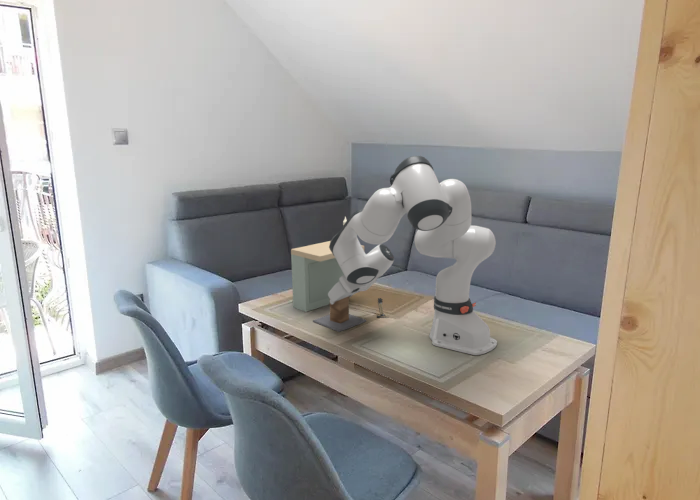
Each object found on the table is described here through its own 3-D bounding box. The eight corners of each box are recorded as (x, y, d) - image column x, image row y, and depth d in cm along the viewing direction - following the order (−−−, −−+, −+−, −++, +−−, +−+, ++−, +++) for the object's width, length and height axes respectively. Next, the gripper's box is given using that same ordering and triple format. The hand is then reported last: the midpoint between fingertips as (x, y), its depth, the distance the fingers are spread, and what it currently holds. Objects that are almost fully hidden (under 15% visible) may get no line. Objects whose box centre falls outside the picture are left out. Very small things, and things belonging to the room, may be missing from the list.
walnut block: (348, 319, 185) (348, 291, 183) (340, 323, 182) (340, 294, 179) (338, 316, 188) (338, 288, 186) (330, 320, 185) (329, 292, 182)
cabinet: (364, 302, 206) (364, 245, 200) (321, 317, 189) (319, 256, 184) (336, 293, 217) (335, 239, 212) (293, 307, 201) (291, 249, 195)
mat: (366, 321, 185) (366, 319, 185) (339, 331, 175) (339, 330, 175) (340, 312, 195) (340, 310, 195) (312, 321, 185) (312, 320, 185)
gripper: (373, 264, 184) (352, 285, 192) (337, 277, 168) (317, 299, 177) (383, 278, 182) (361, 298, 191) (348, 292, 167) (326, 313, 175)
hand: (340, 299), depth 183 cm, fingers open, 8 cm apart
